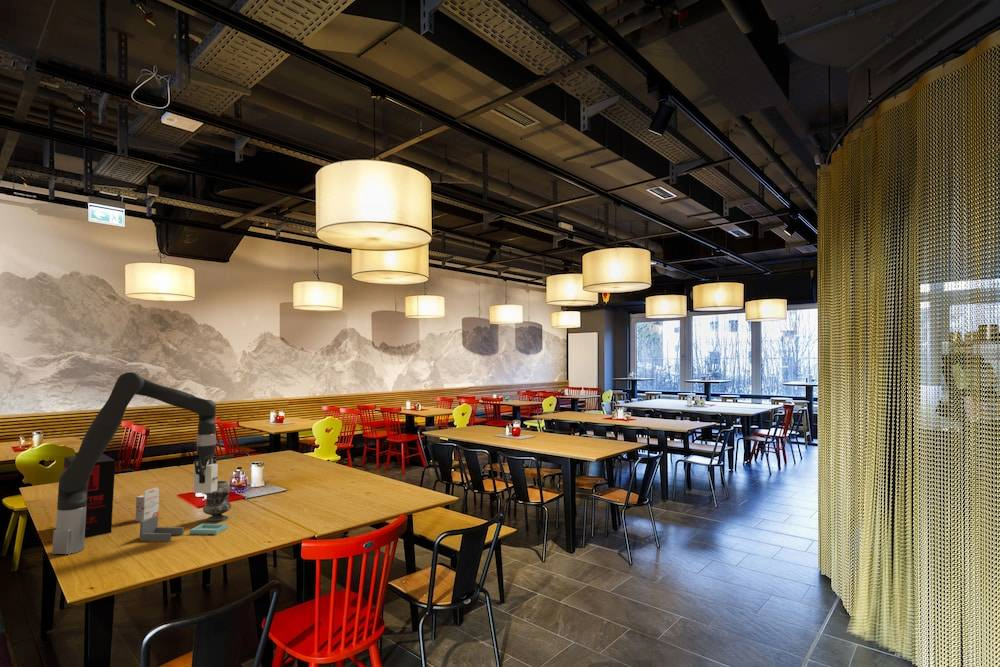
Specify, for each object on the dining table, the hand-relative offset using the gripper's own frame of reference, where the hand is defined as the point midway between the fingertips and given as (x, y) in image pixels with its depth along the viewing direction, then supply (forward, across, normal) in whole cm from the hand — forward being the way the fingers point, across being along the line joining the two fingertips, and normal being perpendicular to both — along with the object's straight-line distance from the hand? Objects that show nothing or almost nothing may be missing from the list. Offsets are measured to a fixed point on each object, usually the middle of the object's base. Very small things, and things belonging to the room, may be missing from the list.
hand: (205, 481), depth 233 cm
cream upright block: (+4, 0, 0) cm, 4 cm away
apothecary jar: (+23, +19, +5) cm, 30 cm away
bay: (+22, -8, +13) cm, 27 cm away
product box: (+22, 0, +55) cm, 59 cm away
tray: (+22, +1, -2) cm, 23 cm away
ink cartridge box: (+22, +18, +39) cm, 49 cm away
